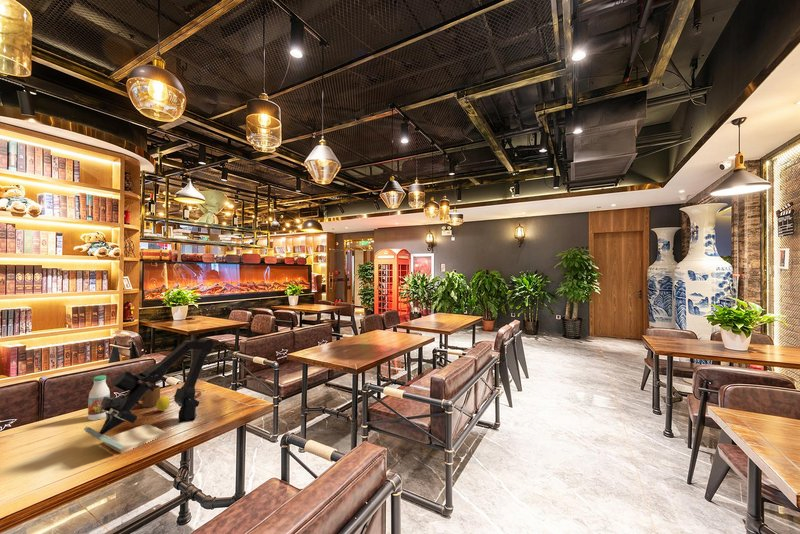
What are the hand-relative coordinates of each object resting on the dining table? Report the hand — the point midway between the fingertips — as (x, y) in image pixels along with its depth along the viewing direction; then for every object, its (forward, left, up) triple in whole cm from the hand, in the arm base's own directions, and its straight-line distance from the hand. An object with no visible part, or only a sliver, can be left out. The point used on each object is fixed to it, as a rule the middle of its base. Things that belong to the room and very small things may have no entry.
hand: (100, 434), depth 127 cm
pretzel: (-19, -53, -8) cm, 57 cm away
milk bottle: (+16, -38, -8) cm, 42 cm away
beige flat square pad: (-9, -7, -7) cm, 14 cm away
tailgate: (-3, -2, -6) cm, 7 cm away
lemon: (-11, -35, -8) cm, 38 cm away
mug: (-1, -45, -8) cm, 46 cm away
